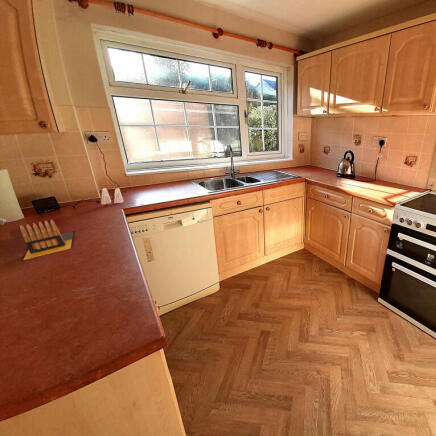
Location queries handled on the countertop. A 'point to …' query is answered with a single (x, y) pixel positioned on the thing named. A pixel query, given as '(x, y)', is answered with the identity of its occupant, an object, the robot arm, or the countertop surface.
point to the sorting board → (67, 239)
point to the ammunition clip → (42, 237)
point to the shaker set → (106, 197)
